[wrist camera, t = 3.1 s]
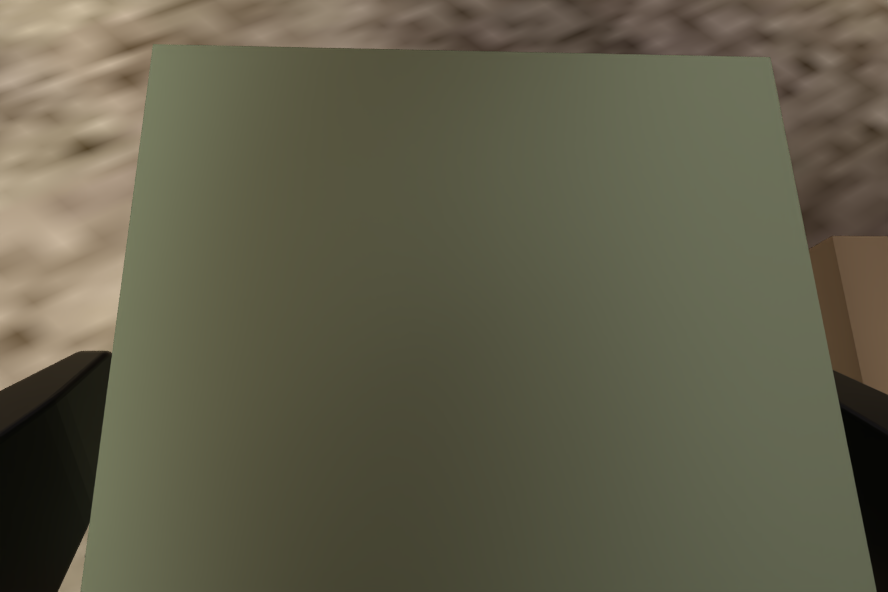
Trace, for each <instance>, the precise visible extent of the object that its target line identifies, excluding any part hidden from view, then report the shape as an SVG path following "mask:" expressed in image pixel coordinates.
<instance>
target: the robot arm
mask: <svg viewBox="0 0 888 592" xmlns="http://www.w3.org/2000/svg"><path fill="white" fill-rule="evenodd" d="M111 358H112V353H111V352H109V351H80V352H77V353H75V354H73V355H71V356H69V357H67V358H65V359H63V360H61V361H59V362H57V363H55V364H53V365H51V366H49V367H47V368H45V369H43V370H41V371H39V372H37V373H35V374H33V375H31V376H29V377H27V378H25V379H23V380H21V381H19V382H17V383H15V384H13V385H11V386H9V387H7V388H5V389H3V390H1V391H0V592H58V590H59V588H60V586H61V584H62V581H63V579H64V577H65V575H66V573H67V571H68V569H69V566H70V564H71V562H72V560H73V558H74V556H75V554H76V551H77V549H78V547H79V545H80V543H81V541H82V538H83V536H84V534H85V532H86V530H87V528H88V525H89V523H90V517H91V509H92V502H93V494H94V487H95V479H96V471H97V464H98V456H99V449H100V441H101V434H102V426H103V419H104V411H105V404H106V396H107V388H108V381H109V373H110V366H111ZM832 370H833V369H832ZM833 375H834V380H835V385H836V390H837V395H838V400H839V405H840V410H841V415H842V420H843V425H844V430H845V435H846V440H847V445H848V450H849V455H850V460H851V465H852V470H853V475H854V480H855V485H856V490H857V495H858V500H859V505H860V510H861V515H862V520H863V525H864V530H865V535H866V540H867V545H868V550H869V555H870V560H871V565H872V570H873V575H874V580H875V586H876V591H877V592H888V394H885V393H883V392H881V391H879V390H877V389H874V388H872V387H870V386H868V385H866V384H863V383H861V382H859V381H857V380H855V379H852V378H850V377H848V376H846V375H844V374H841V373H839V372H837V371H835V370H833Z"/></svg>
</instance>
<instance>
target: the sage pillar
mask: <svg viewBox="0 0 888 592" xmlns="http://www.w3.org/2000/svg"><path fill="white" fill-rule="evenodd" d="M81 592H877V591H876V586H875V580H874V575H873V570H872V565H871V560H870V555H869V550H868V545H867V540H866V535H865V530H864V525H863V520H862V515H861V510H860V505H859V500H858V495H857V490H856V485H855V480H854V475H853V470H852V465H851V460H850V455H849V450H848V445H847V440H846V435H845V430H844V425H843V420H842V415H841V410H840V405H839V400H838V395H837V390H836V385H835V380H834V375H833V370H832V365H831V360H830V355H829V350H828V345H827V340H826V335H825V330H824V325H823V320H822V315H821V310H820V305H819V300H818V294H817V289H816V284H815V279H814V274H813V269H812V264H811V259H810V254H809V249H808V244H807V239H806V234H805V229H804V224H803V219H802V214H801V209H800V204H799V199H798V194H797V189H796V184H795V179H794V174H793V169H792V164H791V159H790V154H789V149H788V144H787V139H786V134H785V129H784V124H783V119H782V114H781V109H780V104H779V99H778V94H777V89H776V84H775V79H774V74H773V69H772V64H771V59H770V57H734V56H686V55H639V54H591V53H543V52H495V51H447V50H400V49H352V48H304V47H256V46H208V45H161V44H153V49H152V57H151V64H150V72H149V79H148V87H147V94H146V102H145V109H144V117H143V124H142V132H141V140H140V147H139V155H138V162H137V170H136V177H135V185H134V192H133V200H132V207H131V215H130V223H129V230H128V238H127V245H126V253H125V260H124V268H123V275H122V283H121V290H120V298H119V306H118V313H117V321H116V328H115V336H114V343H113V351H112V358H111V366H110V373H109V381H108V388H107V396H106V404H105V411H104V419H103V426H102V434H101V441H100V449H99V456H98V464H97V471H96V479H95V487H94V494H93V502H92V509H91V517H90V524H89V532H88V539H87V547H86V554H85V562H84V570H83V577H82V585H81Z"/></svg>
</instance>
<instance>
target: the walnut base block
mask: <svg viewBox="0 0 888 592" xmlns="http://www.w3.org/2000/svg"><path fill="white" fill-rule="evenodd" d="M809 254H810V259H811V264H812V269H813V274H814V279H815V284H816V289H817V294H818V300H819V305H820V310H821V315H822V320H823V325H824V330H825V335H826V340H827V345H828V350H829V355H830V360H831V365H832V369H833V370H835V371H837V372H839V373H841V374H844V375H846V376H848V377H850V378H852V379H855V380H857V381H859V382H861V383H863V384H866V385H868V386H870V387H872V388H874V389H877V390H879V391H881V392H883V393H885V394H888V236H831V237H829V238H828V239H826V240H824V241H822V242H821V243H819V244H817V245H815V246H814V247H812V248H810V249H809Z"/></svg>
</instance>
